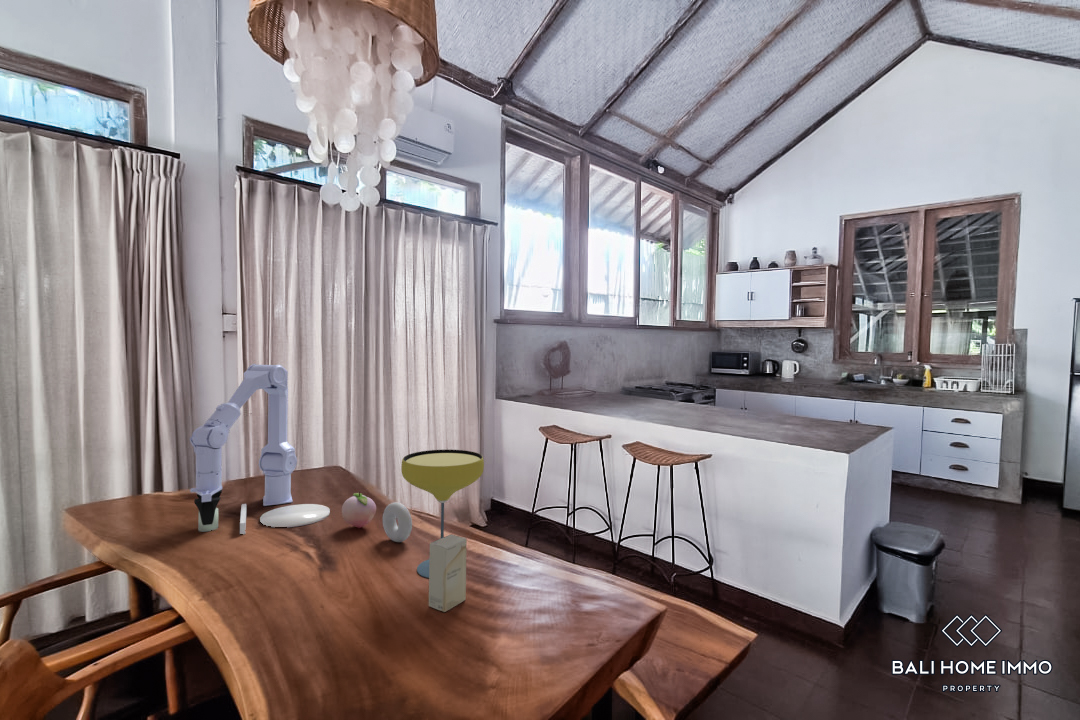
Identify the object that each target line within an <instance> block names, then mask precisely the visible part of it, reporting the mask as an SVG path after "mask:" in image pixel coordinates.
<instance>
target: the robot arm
mask: <svg viewBox="0 0 1080 720" xmlns="http://www.w3.org/2000/svg"><path fill="white" fill-rule="evenodd" d="M288 374H289V373H288V370H287V369H286V368H285V367H284V366H283V365H281V364H275V365H274V364H256V363H253V364H251V365H249V366H248V368H247V369H246V371H244V372H243V380H242V381H241V383H240V384H239V386H238V387H237V389H236V390H235V392H234V393H233V395H232V396H231V397H230V399H229V400H228V402H226V403H224V402H223V403H221V404H219V405H217V406H216V408H215V410H214V412H213V413H212V414H211V416H210V417H209V418H208V419H207V420H206V421H205V423H204V424H203V425H200V426H199V427H197V428H195V429H194V431H193V432H192V434H191V437H190V438H189V442H190V444H191V446H192V447H193V452H194V454H195V487H191V488H190V489H189V493H196V497H197V498H194V501H193V502H194V503H193V504H194V505H195V506H196V507H197V510H198V513H199V512H200V516H201V521H202V524H203V525H210V524H212V523H213V520H214V515H215V510H216V508H217V506H218V504H219V502H220V500H221V494H222V493H223V485H222V478H223V477H222V473H223V471H222V470H223V469H222V466H223V465H222V463H223V462H222V461H223V460H222V459H223V458H222V457H223V455H222V454H223V453H222V451H223V446H224V445H225V444H226V443H227V442H228V439H229V433H230V430H231V428H232V427H233V425H235V423H236V422H237V420H238V419H239V418H240V416H241V414H242V412H241V408H242V407H243V406H244V405H245V403H247V401H249V400H250V398H251V397H252V396H254V394H255V393H256V392H257V391H258V390H263V391H264V392H265V393H267V394H268V399H267V400H268V405H267V406H268V409H267V412H268V413H267V414H268V415H267V444H266V445H264V446H263V448H262V449H261V451H260V452H261V454H260V457H259V459H258V467H259V469H260V471H262V475H264V496H263V497H262V500H263V501H262V503H263V504H262V505H263V506H264V507H267V506H274V505H282V504H290V503H293V501H294V500H293V497H292V494H291V488H292V487H291V485H292V484H291V482H292V478H291V477H292V475H291V474H293V473H294V470H295V469H296V467H297V466H298V465H297V464H298V457H297V456H296V448H294V446H293V445H291V444H290V443H289V442H288V420H289V419H288V418H289V417H288V412H289V403H288V401H289V400H288V398H289V386H288V383H289V382H288V380H289V378H288Z"/></svg>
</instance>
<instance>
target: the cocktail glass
mask: <svg viewBox="0 0 1080 720" xmlns="http://www.w3.org/2000/svg"><path fill="white" fill-rule="evenodd" d="M400 467H401V469H400V471H401V476H402V478H403V479H405V481H406V482H408V483H409V484H410V485H412V486H413V487H415V488H418V489H420V490H422V491H425V492H427V493H429V494H431V495H433V497H434V499H436V500H437V502H438V503H441V505H440V507H441V509H440V511H441V512H440V539H441V538H443V537H445V535H444V534H445V530H444V529H445V528H444V526H445V523H444V522H445V503H447V502H448V501H449V500H450V498H451V497H452V495H453V494H455V493H457V492H458V491H460V490H463V489H465V488H466V487H468V486H470V485H472V484H474V483H475V482H476V481H478V480H479V479H480V477H481V476H482V475H483V473H484V469H485V461H484V457H483V455H482V454H480V453H479V452H475V451H471V450H463V449H431V450H423V451H417V452H412V453H409V454H406V455H405V456H404V457H403V458H402V459H401V466H400ZM416 571H417V572H416V573H417V574H418V575H419V576H420V577H423V578H426V579H429V558H428V559H426V560H424V561H422V562H420V563H419V564H418V566H417V567H416Z"/></svg>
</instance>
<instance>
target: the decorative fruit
mask: <svg viewBox="0 0 1080 720" xmlns="http://www.w3.org/2000/svg"><path fill="white" fill-rule="evenodd" d="M376 512H377V505H376V503H375V501H374V500H373V499H372V498H370V497H369V496H366V495H364V494H363V493H361V491H358V492H354V493H353V494H352V496H350V497H349V498H347V499H346V500H345V501H344V503H343V504H342V507H341V515H342V518H343V520H344V521H345V522H346V523H347V524H349V525H351V526H354V527H357V528H358V529H361V528H363V527H365V526H366V525H367V524H369V523H370V522H371V521H372V520H373V519H374V517H375V515H376Z"/></svg>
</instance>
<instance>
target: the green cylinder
mask: <svg viewBox="0 0 1080 720" xmlns="http://www.w3.org/2000/svg"><path fill="white" fill-rule="evenodd" d="M197 521H198V529H197V530H198V532H203V533H205V532H206V533H207V532H211V530H212V531H215V530H217V529H218V528H219V508H218V507H216V510H215V515H214V520H213V523H212V524H210V525H203V524H202V521H201V516H200V512H199V511H198V520H197Z"/></svg>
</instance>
